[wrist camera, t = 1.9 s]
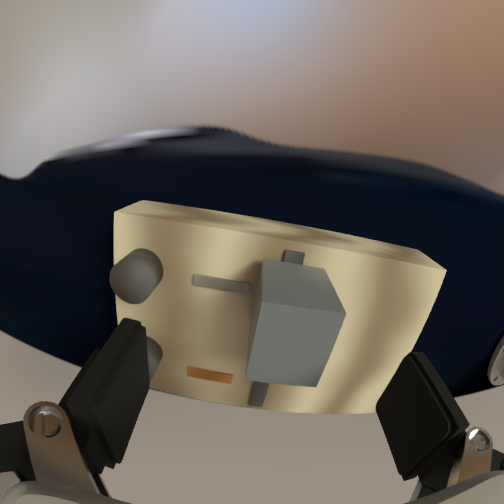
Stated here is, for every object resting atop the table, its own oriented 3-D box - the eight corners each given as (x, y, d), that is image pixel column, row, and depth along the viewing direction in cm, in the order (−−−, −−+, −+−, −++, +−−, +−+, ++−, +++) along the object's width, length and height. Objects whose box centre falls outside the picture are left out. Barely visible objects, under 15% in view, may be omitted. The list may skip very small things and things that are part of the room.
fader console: (418, 250, 18) (463, 283, 12) (362, 381, 22) (379, 430, 17) (142, 200, 18) (95, 220, 12) (142, 350, 22) (116, 398, 16)
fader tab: (324, 268, 14) (346, 313, 10) (305, 332, 15) (316, 387, 11) (262, 258, 14) (262, 301, 10) (249, 324, 15) (244, 379, 11)
